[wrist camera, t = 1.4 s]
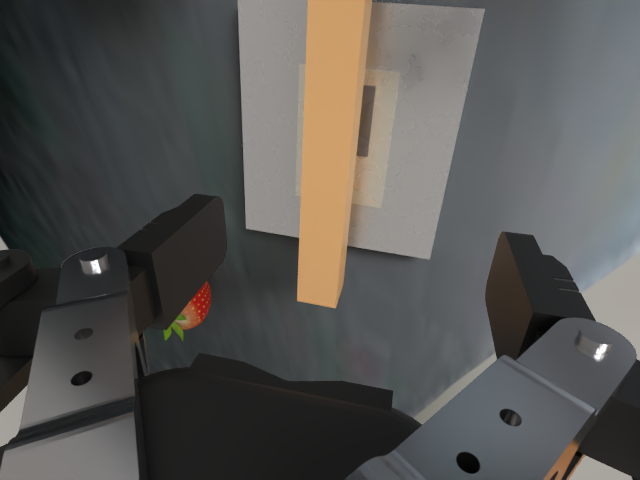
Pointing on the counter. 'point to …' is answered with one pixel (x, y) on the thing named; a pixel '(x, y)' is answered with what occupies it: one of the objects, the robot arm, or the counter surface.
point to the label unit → (375, 120)
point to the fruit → (192, 312)
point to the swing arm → (330, 142)
